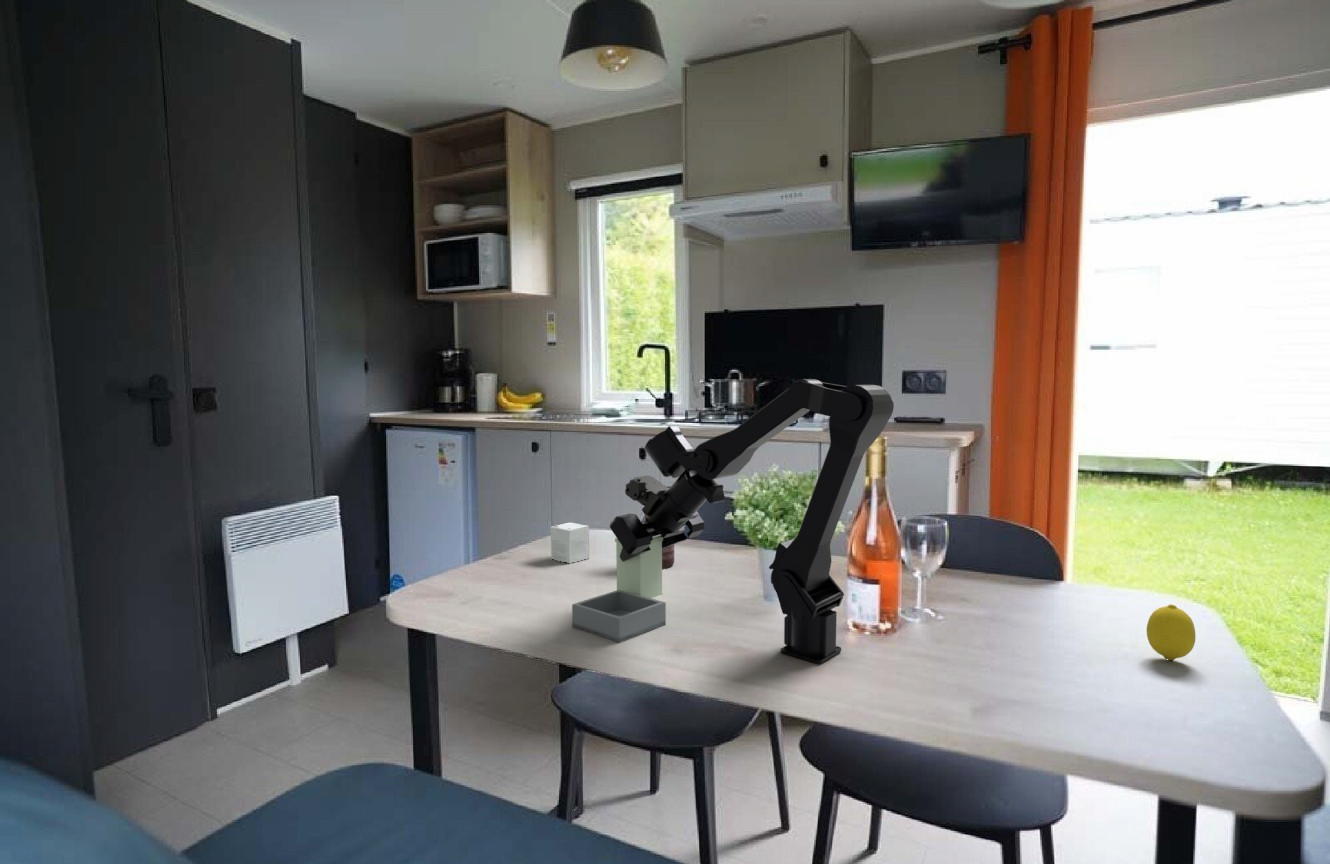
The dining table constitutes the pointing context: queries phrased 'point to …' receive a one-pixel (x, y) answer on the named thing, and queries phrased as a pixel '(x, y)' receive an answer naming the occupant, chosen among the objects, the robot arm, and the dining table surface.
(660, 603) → the crate
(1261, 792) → the dining table surface
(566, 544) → the skincare box
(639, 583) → the small green box
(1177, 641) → the lemon
